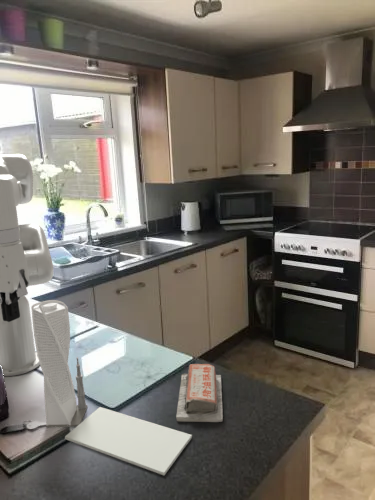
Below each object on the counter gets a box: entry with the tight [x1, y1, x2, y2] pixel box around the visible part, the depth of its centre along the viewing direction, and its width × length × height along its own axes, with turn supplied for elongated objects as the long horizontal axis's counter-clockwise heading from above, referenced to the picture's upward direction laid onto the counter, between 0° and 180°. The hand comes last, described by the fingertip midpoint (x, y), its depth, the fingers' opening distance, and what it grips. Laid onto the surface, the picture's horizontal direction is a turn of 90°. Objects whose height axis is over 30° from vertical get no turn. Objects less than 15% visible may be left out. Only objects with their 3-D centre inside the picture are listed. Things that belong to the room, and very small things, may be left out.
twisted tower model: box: [30, 299, 88, 428], centre depth 86 cm, size 8×8×28 cm
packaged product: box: [175, 363, 224, 423], centre depth 95 cm, size 18×5×10 cm
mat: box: [64, 406, 193, 476], centre depth 83 cm, size 23×11×1 cm, turn 63°
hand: (11, 319), depth 90 cm, fingers closed
